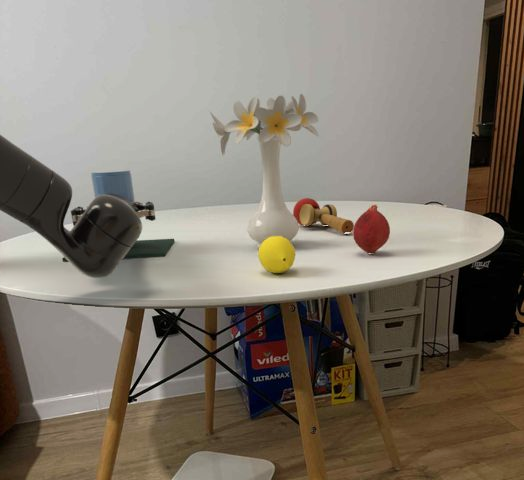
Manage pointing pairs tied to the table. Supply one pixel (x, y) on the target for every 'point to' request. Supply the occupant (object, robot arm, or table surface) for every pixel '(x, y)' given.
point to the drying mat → (147, 248)
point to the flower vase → (269, 157)
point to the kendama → (320, 215)
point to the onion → (371, 230)
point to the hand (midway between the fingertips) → (117, 208)
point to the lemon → (276, 254)
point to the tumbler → (113, 183)
